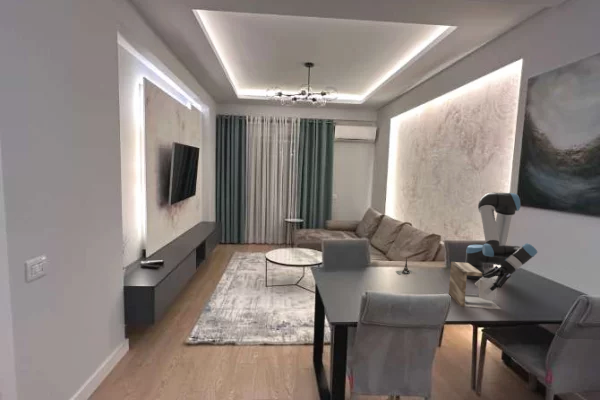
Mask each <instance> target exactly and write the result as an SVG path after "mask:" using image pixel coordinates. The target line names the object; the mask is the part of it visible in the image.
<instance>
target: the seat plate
mask: <svg viewBox="0 0 600 400" xmlns="http://www.w3.org/2000/svg"><path fill="white" fill-rule="evenodd" d="M464 307H467V308H477V309H478V308H479V309H492V310H501V307H500V306H498V305H497V303H495V302H494V301H489V300H484V299H481V298H480V297H479V294H476V293H465V306H464Z"/></svg>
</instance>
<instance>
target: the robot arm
mask: <svg viewBox="0 0 600 400" xmlns="http://www.w3.org/2000/svg"><path fill="white" fill-rule="evenodd" d="M477 207H478V208H477V210H478V212H479V213H480V215H481V223H482V228H483V234H484V241H485V243H484V244H470V245H468V246H467V247H466V249H465V250H466V251H465V263H469V264H470V265H472V266H473V267H475V268H476V269H478V270H479V271H480V272H482V276H470V275H467V278H466V279H472V280H476V281H475V282H474V285H475V286H476V287H477V288H479V287H478V284H479V281H480V278H490V279H493V278H494V277H496V279H495V280H496V281H495V283H493V284H492V285H490V286H489V287H488V288H487V289H485V290H484V292H485V293H486V294H487V295H488V294H489V293H491V292H492V291H493V290H494V289H496V288H497V289H498V288H499V289H502V287H503V286H505V285H504V284H505V283H506V282H507V281H508V280H509V278H511V277H512V274H513V273H514V272H516V270H518V269H520V268H521V267H522V266H523V265H525V264H526V263H527V262H529V261H530V260H531V259H532V258H534V257H535V256H536V255H537V254H538V250H537V249H536V248H535V247H534V246H533V245H532V244H530V243H528V242H527V243H524V244H522V245H521V246H518V245H507V241H508V235H509V231H510V226H511V221H512V217H513V216H514V215H515V214H516V212H517V211H519V210H520V209H521V198H520V197H519V195H518V194H517V193H515V192H514V193H513V192H496V191H495V192H494V191H491V192H487V193H486V194H484V195H483V196H481V198H480V199H479V201H478V206H477ZM495 213H496V218H495ZM484 264H485V265H495V266H494V267H493V268H491V269H489V270H487V271H486V272H485V268H484ZM498 266H499V267H498ZM497 289H496V290H497Z"/></svg>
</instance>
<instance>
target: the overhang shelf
mask: <svg viewBox="0 0 600 400" xmlns="http://www.w3.org/2000/svg"><path fill="white" fill-rule="evenodd" d="M467 275H470V276H482V272H480V271H479V270H478V269H476V268H475V267H473V266H472V265H470V264H469V263H466V262H460V261H458V262H456V261H451V262H450V272H449V285H448V286H449V287H448V294H449V296H450V297H452V298H453V300H454V301H455V302H456V303H457V304H458V306H459V307H463V308H464V307H466V306H465V294H466V292H467V291H466V288H467V279H468V278H467Z"/></svg>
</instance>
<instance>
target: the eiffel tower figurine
mask: <svg viewBox="0 0 600 400" xmlns="http://www.w3.org/2000/svg"><path fill="white" fill-rule="evenodd" d="M404 264H405V266H404V268H403V270H396V271H395V273H396V274H398V275H399V276H402V275H403V274H404V275H410V274H411V273H412V272H413V270H410V269H409V268H408V256H406V258H405V263H404Z"/></svg>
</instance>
